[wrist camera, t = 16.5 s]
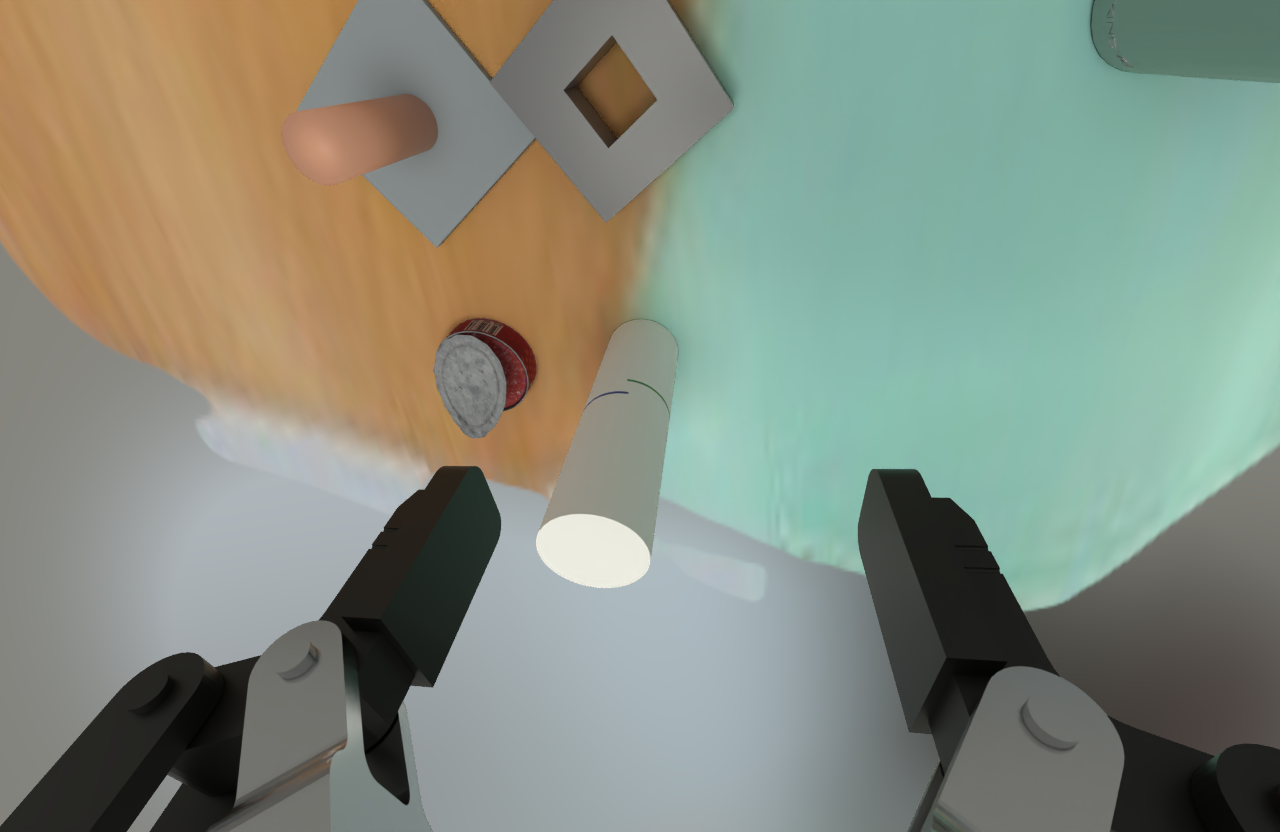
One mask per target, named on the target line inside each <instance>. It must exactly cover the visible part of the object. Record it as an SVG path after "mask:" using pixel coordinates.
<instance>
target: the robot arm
mask: <svg viewBox="0 0 1280 832" xmlns="http://www.w3.org/2000/svg"><path fill="white" fill-rule="evenodd" d="M1091 28H1092V35H1093V41H1094V44H1095V46H1096V48H1097V50H1098V52H1099V55H1100V56H1101V57H1102V58H1103V59H1104V60H1105V61H1106V62H1107V63H1108V64H1109V65H1111V66H1113V67H1115V68H1117V69H1119V70H1122V71H1128V72H1135V73H1147V74H1161V75H1173V76H1184V77H1199V78H1213V79H1227V80H1241V81H1255V82H1270V83H1280V0H1095V2H1094V5H1093V11H1092V23H1091ZM500 530H501V517H500V513H499V511H498V509H497V506H496V503H495V501H494V499H493V496H492V494H491V491H490V489H489V486H488V484H487V482H486V479H485V477H484V474H483V472H482V471H481V469H480V468H479V467H477V466H443V467H441V468H440V469H438V470H437V472H436V473H435V475H434V476H433V478H432V479H431V481H430V482H429V484H428V485H427V487H426V488H425V490H418V491H417V492H415V493H414V494H413V495H412V496H411V497H410V498H408V499H407V500H406V501H405V502H404V503H402V504H401V505H400V506H399V507H398V508H397V509H396V511H395V512H394V514H393V515H392V517H391V518H390V519H389V521H388V522H387V524H386V525H385V527H384V531H383V532H381V533H380V534H379V535H378V537H377V538H376V540H375V541H374V542H373V544H372V549H369V550H368V551H367V553H366V554H365V556H364V557H363V558H362V560H361V561H360V563H359V564H358V566H357V567H356V569H355V570H354V571H353V573H352V574H351V576H350V577H349V579H348V580H347V581H346V583H345V584H344V586H343V587H342V589H341V590H340V592H339V593H338V594H337V596H336V597H335V599H334V600H333V602H332V603H331V605H330V606H329V607H328V609H327V610H326V612H325V613H324V614H323V616H322V617H321V618H320V619H319V620H318V621H312V622H308V623H305V624H302V625H300V626H298V627H296V628H294V629H292V630H290V631H288V632H287V633H285V634H284V635H282V636H281V637H280V638H278V639H277V640H276V641H275V642H274V643H273V644H272V645H270V646H269V648H268V649H267V650H266V651H265V652H264V653H263V654H262V655H260V656H257V657H253V658H249V659H245V660H242V661H237V662H233V663H230V664H226V665H222V666H218V667H213V666H212V665H211V664H209V663H208V662H207V661H205V660H204V659H203V658H202V657H201V656H199V655H198V654H195V653H189V652H187V653H179V654H175V655H172V656H169V657H166V658H164V659H162V660H160V661H158V662H156V663H154V664H153V665H151V666H149V667H147V668H146V669H145V670H143V671H142V672H140V673H139V674H138V675H136V676H135V677H134V678H132V679H131V680H130V681H129V682H128V683H127V684H126V685H125V686H123V687H122V689H121V690H120V691H119V692H118V693H117V694H116V695H115V696H114V697H113V698H112V699H111V701H110V702H109V703H108V704H107V705H106V706H105V707H104V709H103V710H102V711H101V712H100V713H99V714H98V716H97V717H96V718H95V719H94V720H93V721H92V722H91V724H90V725H89V726H88V727H87V728H86V729H85V730H84V731H83V733H82V734H81V735H80V736H79V737H78V738H77V740H76V741H75V742H74V743H73V744H72V745H71V746H70V747H69V749H68V750H67V751H66V752H65V753H64V754H63V755H62V757H61V758H60V759H59V760H58V761H57V762H56V763H55V765H54V766H53V767H52V768H51V769H50V770H49V771H48V773H47V774H46V775H45V776H44V777H43V778H42V779H41V781H40V782H39V783H38V784H37V785H36V786H35V787H34V788H33V790H32V791H31V792H30V793H29V794H28V795H27V796H26V798H25V799H24V800H23V801H22V802H21V803H20V805H19V806H18V807H17V808H16V809H15V810H14V811H13V813H12V814H11V815H10V816H9V817H8V818H7V819H6V820H5V822H4V823H3V824H2V825H1V826H0V832H127V830H128V829H129V828H130V826H131V825H132V823H133V822H134V820H135V819H136V818H137V816H138V815H139V813H140V812H141V811H142V809H143V808H144V806H145V805H146V804H147V802H148V801H149V799H150V798H151V797H152V795H153V793H154V792H155V791H156V789H157V788H158V787H159V785H160V784H161V782H162V781H163V780H164V778H165V777H166V775H169V776H171V777H173V778H174V779H176V780H178V781H180V782H182V785H181V786H180V788H179V789H178V791H177V792H176V794H175V795H174V797H173V798H172V800H171V801H170V803H169V804H168V806H167V807H166V808H165V810H164V811H163V813H162V814H161V816H160V817H159V819H158V820H157V822H156V823H155V825H154V826H153V828H152V829H151V831H150V832H433V831H432V828H431V826H430V825H429V823H428V821H427V818H426V816H425V813H424V810H423V807H422V802H421V797H420V790H419V784H418V777H417V771H416V765H415V758H414V752H413V746H412V740H411V734H410V728H409V721H408V716H407V709H406V706H405V704H404V702H403V700H404V698H405V696H406V694H407V692H408V690H409V687H410V685H412V686H422V687H433V686H434V684H435V682H436V680H437V677H438V675H439V673H440V670H441V668H442V666H443V664H444V661H445V659H446V657H447V655H448V653H449V650H450V648H451V646H452V643H453V641H454V639H455V637H456V634H457V632H458V630H459V628H460V626H461V623H462V621H463V619H464V617H465V614H466V612H467V610H468V608H469V605H470V603H471V601H472V599H473V596H474V594H475V592H476V589H477V587H478V585H479V583H480V581H481V578H482V576H483V574H484V572H485V569H486V567H487V565H488V563H489V560H490V558H491V556H492V554H493V552H494V549H495V547H496V545H497V542H498V540H499V536H500ZM858 544H859V550H860V555H861V559H862V562H863V566H864V570H865V573H866V577H867V580H868V584H869V588H870V591H871V595H872V599H873V602H874V606H875V610H876V613H877V616H878V620H879V624H880V627H881V631H882V635H883V639H884V642H885V646H886V650H887V653H888V657H889V660H890V664H891V668H892V671H893V675H894V679H895V682H896V686H897V690H898V693H899V697H900V701H901V704H902V708H903V711H904V715H905V719H906V722H907V726H908V730H909V732H914V733H924V734H932V735H933V738H934V742H935V745H936V748H937V751H938V755H939V758H940V759H939V761H938V763H937V765H936V767H935V769H934V772H933V774H932V776H931V778H930V781H929V783H928V785H927V788H926V790H925V792H924V794H923V796H922V799H921V801H920V803H919V805H918V808H917V810H916V812H915V814H914V817H913V819H912V821H911V823H910V826H909V828H908V830H907V832H1280V750H1279V749H1276V748H1272V747H1268V746H1263V745H1258V744H1240V745H1234V746H1231V747H1230V748H1227V749H1225V750H1224V751H1222V752H1221V753H1219V754H1218V755H1216V756H1213V755H1210V754H1207V753H1204V752H1201V751H1199V750H1196V749H1193V748H1190V747H1187V746H1184V745H1182V744H1179V743H1176V742H1173V741H1170V740H1167V739H1164V738H1161V737H1159V736H1156V735H1153V734H1151V733H1148V732H1145V731H1142V730H1139V729H1136V728H1134V727H1131V726H1129V725H1126V724H1124V723H1122V722H1119V721H1118V720H1116V719H1114V718H1112V717H1110V716H1108V715H1106V714H1105V712H1104V711H1103V710H1102V709H1101V708H1100V707H1099V706H1098V705H1097V704H1096V703H1095V702H1094V701H1093V700H1092V699H1091V698H1090V697H1089V696H1088V695H1087V694H1085V693H1084V692H1083V691H1081V690H1080V689H1079V688H1077V687H1076V686H1075V685H1073V684H1071V683H1070V682H1068V681H1066V680H1065V679H1063V678H1061V677H1060V676H1059V675H1058V673H1057V672H1056V671H1055V669H1054V668H1053V666H1052V665H1051V663H1050V661H1049V660H1048V658H1047V656H1046V654H1045V652H1044V650H1043V649H1042V647H1041V645H1040V643H1039V641H1038V639H1037V637H1036V635H1035V634H1034V632H1033V630H1032V628H1031V626H1030V624H1029V622H1028V620H1027V619H1026V617H1025V615H1024V613H1023V611H1022V609H1021V607H1020V605H1019V603H1018V602H1017V600H1016V598H1015V596H1014V594H1013V592H1012V590H1011V588H1010V587H1009V585H1008V583H1007V581H1006V579H1005V577H1004V575H1003V574H1000V571H999V569H1000V568H999V566H998V564H997V562H996V560H995V558H994V557H993V555H992V553H991V551H988V545H987V543H986V542H985V540H984V538H983V536H982V534H981V532H980V530H979V528H978V527H977V525H976V523H975V521H974V520H973V519H972V518H971V517H970V516H969V515H968V514H967V513H966V512H965V511H964V510H962V509H961V508H960V507H959V506H958V505H957V504H956V503H955V502H954V501H953V500H951V499H950V498H931V496H930V493H929V491H928V489H927V487H926V485H925V483H924V480H923V478H922V476H921V474H920V473H919V472H918V471H917V470H915V469H872V470H871V472H870V474H869V477H868V481H867V486H866V490H865V495H864V499H863V504H862V509H861V513H860V518H859V523H858Z"/></svg>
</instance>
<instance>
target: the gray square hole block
mask: <svg viewBox="0 0 1280 832" xmlns="http://www.w3.org/2000/svg"><path fill="white" fill-rule="evenodd" d="M616 42H617V43H618V44H619V46H620V47H621V48H622V50H623V51H624V53H625V54H626V56H627V57H628V58H629V60H630V61H631V63H632V64H633V66H634V67H635V69H636V70H637V71H638V73H639V74H640V76H641V77H642V79H643V80H644V81H645V83H646V84H647V86H648V87H649V89H650V90H651V92H652V93H653V94H654V96H655V97H656V99H657V101H656V102H655V103H654V104H653V105H652V106H651V107H650V108H649V109H648V110H647V111H646V112H645V113H644V114H643V115H642V116H641V117H640V118H639V119H638V120H637V121H636V122H635V123H634V124H633V125H632V126H631V127H630V128H629V129H628V130H627V131H626V132H625V133H624V134H623V135H622V136H621V137H620V138H619V139H616V137H615V136H614V135H613V133H612V132H611V131H610V129H609V128H608V127H607V125H606V124H605V123H604V121H603V120H602V119H601V117H600V116H599V115H598V113H597V112H596V111H595V109H594V108H593V107H592V106H591V104H590V103H589V102H588V100H587V99H586V98H585V96H584V95H583V94H582V92H581V91H580V90H579V88H578V87H577V86H578V84H579V83H580V82H581V81H582V80H583V79H584V78H585V77H586V75H587V74H588V73H589V72H590V71H591V70H592V69H593V68H594V66H595V65H596V64H597V63H598V62H599V61H600V60H601V59H602V57H603V56H604V55H605V54H606V53H607V52H608V51H609V50H610V48H611V47H612V46H613V45H614V44H615V43H616ZM489 83H490V84H491V85H492V86H493V88H494V89H495V90H496V91H497V92H498V94H499V95H500V96H501V97H502V98H503V100H504V101H505V102H506V103H507V104H508V106H509V107H510V108H511V109H512V110H513V112H514V113H515V114H516V115H517V116H518V118H519V119H520V120H521V121H522V122H523V124H524V125H525V126H526V127H527V128H528V130H529V131H530V132H531V133H532V134H533V136H534V137H535V138H536V139H537V140H538V142H539V143H540V144H541V145H542V147H543V148H544V149H545V150H546V151H547V153H548V154H549V155H550V156H551V157H552V159H553V160H554V161H555V162H556V163H557V165H558V166H559V167H560V168H561V169H562V171H563V172H564V173H565V174H566V175H567V177H568V178H569V179H570V180H571V181H572V183H573V184H574V185H575V186H576V187H577V189H578V190H579V191H580V192H581V193H582V195H583V196H584V197H585V198H586V199H587V201H588V202H589V203H590V204H591V205H592V207H593V208H594V209H595V210H596V211H597V213H598V214H599V215H600V216H601V217H602V219H603V220H604V221H605V222H608V221H609V220H610V219H611V218H612V217H613V216H614V215H615V214H617V213H618V212H619V211H620V210H621V209H622V208H623V207H624V206H625V205H627V204H628V203H629V202H630V201H631V200H632V199H633V198H634V197H635V196H637V195H638V194H639V193H640V192H641V191H642V190H643V189H644V188H646V187H647V186H648V185H649V184H650V183H651V182H652V181H653V180H654V179H656V178H657V177H658V176H659V175H660V174H661V173H662V172H663V171H665V170H666V169H667V168H668V167H669V166H670V165H671V164H672V163H673V162H675V161H676V160H677V159H678V158H679V157H680V156H681V155H682V154H683V153H685V152H686V151H687V150H688V149H689V148H690V147H691V146H692V145H694V144H695V143H696V142H697V141H698V140H699V139H700V138H701V137H702V136H704V135H705V134H706V133H707V132H708V131H709V130H710V129H711V128H712V127H714V126H715V125H716V124H717V123H718V122H719V121H720V120H721V119H723V118H724V117H725V116H726V115H727V114H728V113H729V112H730V111H731V110H733V109H734V104H733V101H732V100H731V98H730V97H729V95H728V93H727V92H726V90H725V89H724V87H723V85H722V84H721V82H720V81H719V79H718V77H717V76H716V74H715V73H714V71H713V70H712V68H711V66H710V65H709V63H708V62H707V60H706V58H705V57H704V55H703V54H702V52H701V50H700V49H699V47H698V46H697V44H696V43H695V41H694V39H693V38H692V36H691V35H690V33H689V31H688V30H687V28H686V27H685V25H684V23H683V22H682V20H681V19H680V17H679V16H678V14H677V12H676V11H675V9H674V8H673V6H672V4H671V3H670V1H669V0H553V2H552V3H551V4H550V5H549V7H548V8H547V9H546V11H545V12H544V13H543V14H542V16H541V17H540V18H539V20H538V21H537V22H536V23H535V25H534V26H533V27H532V29H531V30H530V31H529V32H528V34H527V35H526V36H525V38H524V39H523V40H522V41H521V43H520V44H519V45H518V46H517V48H516V49H515V50H514V52H513V53H512V54H511V55H510V57H509V58H508V59H507V61H506V62H505V63H504V64H503V66H502V67H501V68H500V70H499V71H498V72H497V73H496V75H495V76H494V77H493V79H492V80H491V81H490V82H489Z"/></svg>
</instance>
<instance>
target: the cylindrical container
mask: <svg viewBox="0 0 1280 832" xmlns="http://www.w3.org/2000/svg"><path fill="white" fill-rule="evenodd" d="M677 360H678V346H677V343H676V340H675V338H674V337H673V335H672V334H671V332H670V331H669V330H667V329H666V328H665V327H664V326H662V325H661V324H659V323H656V322H654V321H651V320H645V319H637V320H631V321H628V322H626V323H624V324H622V325H621V326H619V327H618V328H617V329H616V330H615V331H614V333H613V334H612V336H611V338H610V341H609V344H608V346H607V349H606V352H605V354H604V357H603V360H602V362H601V365H600V368H599V370H598V373H597V376H596V378H595V381H594V384H593V387H592V389H591V392H590V395H589V397H588V400H587V403H586V406H585V408H584V411H583V414H582V416H581V419H580V422H579V424H578V427H577V430H576V432H575V435H574V438H573V440H572V443H571V446H570V449H569V451H568V454H567V457H566V459H565V462H564V465H563V467H562V470H561V473H560V475H559V478H558V481H557V484H556V486H555V489H554V492H553V494H552V497H551V500H550V503H549V505H548V508H547V511H546V513H545V516H544V519H543V522H542V524H541V527H540V530H539V532H538V535H537V538H536V547H537V551H538V553H539V555H540V557H541V559H542V560H543V561H544V563H545V564H546V565H547V566H548V567H549V568H550V569H552V570H553V571H554V572H555V573H557V574H559V575H560V576H562V577H564V578H566V579H568V580H570V581H572V582H575V583H579V584H581V585H585V586H590V587H598V588H614V587H621V586H625V585H628V584H631V583H633V582H635V581H637V580H639V579H640V578H641V577H642V576H643V575H644V574H645V573H646V572H647V570H648V568H649V565H650V561H651V554H652V546H653V539H654V531H655V524H656V516H657V509H658V501H659V494H660V487H661V479H662V472H663V464H664V457H665V449H666V442H667V434H668V427H669V419H670V412H671V404H672V397H673V389H674V382H675V375H676V367H677Z"/></svg>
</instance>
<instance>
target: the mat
mask: <svg viewBox="0 0 1280 832" xmlns="http://www.w3.org/2000/svg"><path fill="white" fill-rule="evenodd" d="M491 80H492V78H491V77H490V76H489V75H488V73H487V72H486V71H485V70H484V68H483V67H482V66H481V65H480V64H479V62H478V61H477V60H476V59H475V58H474V56H473V55H472V54H471V53H470V52H469V50H468V49H467V48H466V47H465V46H464V44H463V43H462V42H461V41H460V39H459V38H458V37H457V36H456V35H455V33H454V32H453V31H452V30H451V29H450V27H449V26H448V25H447V24H446V23H445V21H444V20H443V19H442V18H441V16H440V15H439V14H438V13H437V12H436V10H435V9H434V8H433V7H432V6H431V4H430V3H429V2H428V1H427V0H358V2H357V4H356V5H355V7H354V9H353V11H352V13H351V14H350V16H349V18H348V20H347V22H346V23H345V25H344V27H343V29H342V30H341V32H340V34H339V36H338V38H337V39H336V41H335V43H334V45H333V47H332V48H331V50H330V52H329V54H328V55H327V57H326V59H325V61H324V63H323V64H322V66H321V68H320V70H319V72H318V73H317V75H316V77H315V79H314V80H313V82H312V84H311V86H310V88H309V89H308V91H307V93H306V95H305V97H304V98H303V100H302V102H301V104H300V105H299V107H298V109H297V111H302V110H308V109H314V108H321V107H327V106H333V105H339V104H345V103H352V102H358V101H364V100H370V99H376V98H383V97H389V96H395V95H401V94H411V95H414V96H416V97H418V98H420V99H421V100H422V101H424V102H425V103H426V104H427V105H428V107H429V108H430V109H431V111H432V112H433V114H434V116H435V119H436V122H437V126H438V137H437V141H436V143H435V145H434V146H433V147H432V148H431V149H430V150H428V151H425V152H422V153H420V154H417V155H414V156H412V157H409V158H406V159H403V160H401V161H398V162H395V163H393V164H390V165H387V166H384V167H382V168H379V169H376V170H374V171H371V172H368V173H365V174H363V176H364V177H365V178H366V179H367V180H368V181H369V182H370V183H371V184H372V185H373V186H374V187H375V188H376V189H377V190H378V191H379V192H380V193H381V194H382V195H383V196H384V197H385V198H386V199H387V200H388V201H389V202H390V203H391V204H392V205H393V206H395V207H396V208H397V209H398V210H399V211H400V212H401V213H402V214H403V215H404V216H405V217H406V218H407V219H408V220H409V221H410V222H411V223H412V224H413V225H414V226H415V227H416V228H417V229H418V230H419V231H420V232H421V233H422V234H423V235H424V236H425V237H426V238H427V239H428V240H429V241H430V242H431V243H432V244H433V245H434V246H435V247H438V246H440V245H441V244H442V243H443V241H444V240H445V239H446V238H447V237H448V236H449V235H450V234H451V233H452V231H453V230H454V229H455V228H456V227H457V226H458V225H459V224H460V223H461V221H462V220H463V219H464V218H465V217H466V216H467V215H468V214H469V213H470V211H471V210H472V209H473V208H474V207H475V206H476V205H477V204H478V203H479V201H480V200H481V199H482V198H483V197H484V196H485V195H486V194H487V192H488V191H489V190H490V189H491V188H492V187H493V186H494V185H495V184H496V182H497V181H498V180H499V179H500V178H501V177H502V176H503V175H504V174H505V172H506V171H507V170H508V169H509V168H510V167H511V166H512V165H513V164H514V162H515V161H516V160H517V159H518V158H519V157H520V156H521V155H522V154H523V152H524V151H525V150H526V149H527V148H528V147H529V146H530V145H531V143H532V142H533V141H534V140H535V139H536V138H535V137H534V136H533V134H532V133H531V132H530V131H529V130H528V128H527V127H526V126H525V125H524V124H523V122H522V121H521V120H520V119H519V118H518V116H517V115H516V114H515V113H514V112H513V110H512V109H511V108H510V107H509V106H508V104H507V103H506V102H505V101H504V100H503V98H502V97H501V96H500V95H499V94H498V92H497V91H496V90H495V89H494V88H493V86H492V85H491V84H490V83H489V82H490V81H491Z"/></svg>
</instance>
